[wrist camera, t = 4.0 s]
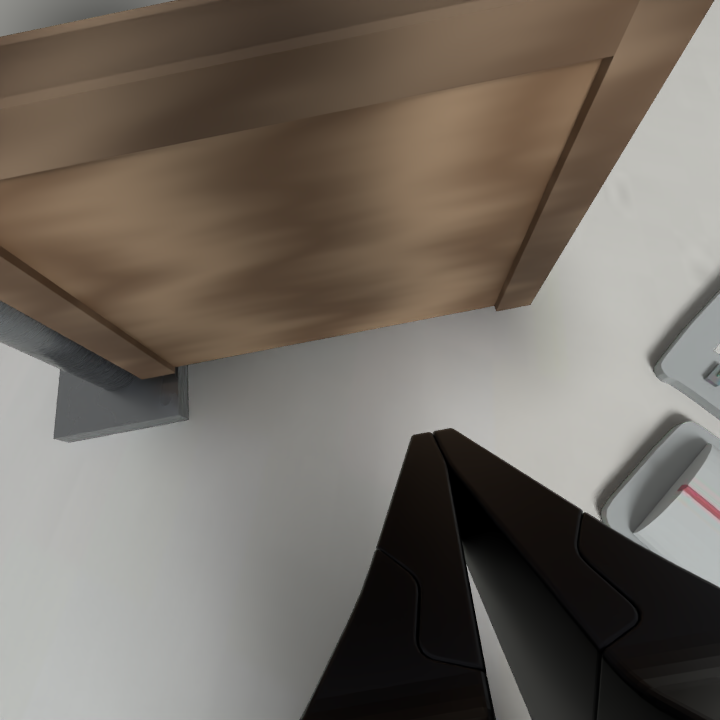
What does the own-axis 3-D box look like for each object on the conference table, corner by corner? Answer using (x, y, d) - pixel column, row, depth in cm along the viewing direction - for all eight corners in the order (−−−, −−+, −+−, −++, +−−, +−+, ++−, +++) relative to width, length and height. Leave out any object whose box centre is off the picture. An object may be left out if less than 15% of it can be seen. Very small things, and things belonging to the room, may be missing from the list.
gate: (142, 379, 20) (-251, 160, 8) (142, 337, 21) (-212, 80, 9) (530, 304, 20) (739, -42, 8) (515, 265, 20) (684, -106, 8)
